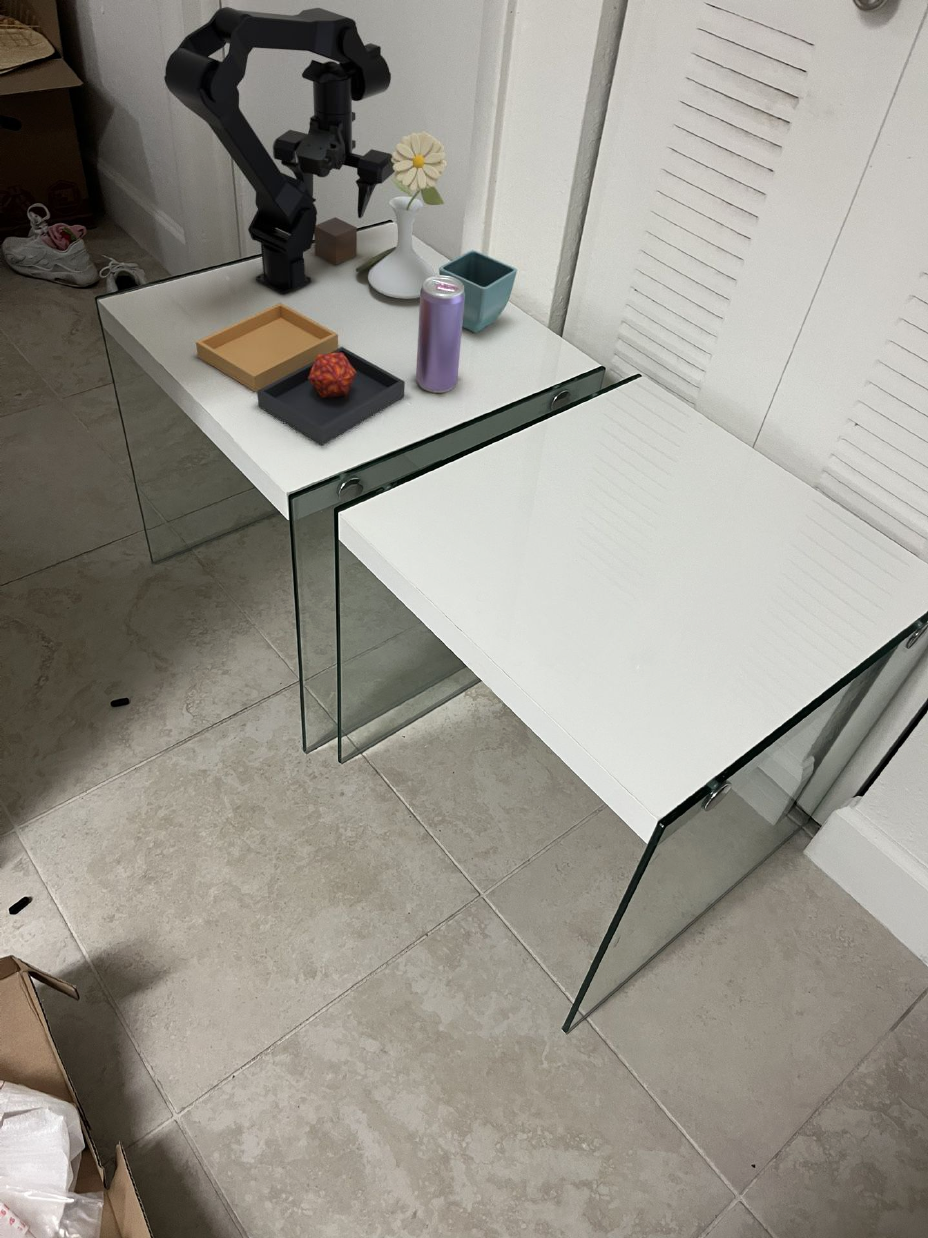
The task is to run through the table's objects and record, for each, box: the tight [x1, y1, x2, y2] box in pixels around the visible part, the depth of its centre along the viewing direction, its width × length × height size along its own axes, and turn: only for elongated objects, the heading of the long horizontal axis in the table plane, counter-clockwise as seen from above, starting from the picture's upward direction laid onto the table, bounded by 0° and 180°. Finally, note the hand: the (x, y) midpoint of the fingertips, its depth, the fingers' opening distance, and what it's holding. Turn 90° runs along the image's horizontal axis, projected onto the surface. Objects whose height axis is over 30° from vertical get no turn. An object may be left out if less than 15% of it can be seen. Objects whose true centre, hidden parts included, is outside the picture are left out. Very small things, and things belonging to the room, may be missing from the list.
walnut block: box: [313, 216, 358, 266], centre depth 158 cm, size 5×5×5 cm
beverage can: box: [415, 274, 465, 394], centre depth 131 cm, size 6×6×15 cm
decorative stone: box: [308, 352, 356, 398], centre depth 130 cm, size 6×7×8 cm
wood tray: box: [195, 302, 339, 393], centre depth 137 cm, size 12×16×2 cm
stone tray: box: [256, 346, 406, 446], centre depth 130 cm, size 12×16×2 cm
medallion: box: [355, 245, 397, 273], centre depth 154 cm, size 8×8×1 cm
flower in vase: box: [367, 130, 447, 300], centre depth 144 cm, size 13×11×25 cm
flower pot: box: [438, 249, 518, 333], centre depth 145 cm, size 9×9×9 cm
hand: (334, 210), depth 154 cm, fingers open, 9 cm apart
